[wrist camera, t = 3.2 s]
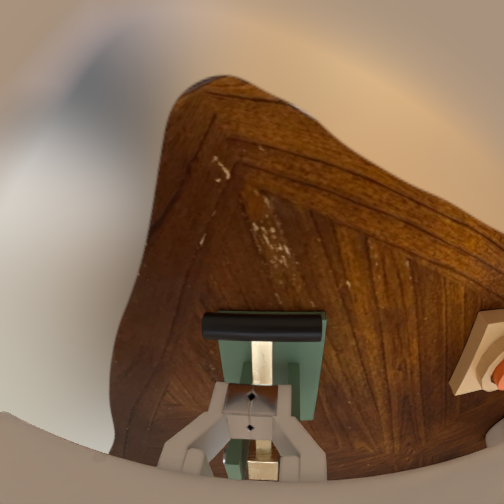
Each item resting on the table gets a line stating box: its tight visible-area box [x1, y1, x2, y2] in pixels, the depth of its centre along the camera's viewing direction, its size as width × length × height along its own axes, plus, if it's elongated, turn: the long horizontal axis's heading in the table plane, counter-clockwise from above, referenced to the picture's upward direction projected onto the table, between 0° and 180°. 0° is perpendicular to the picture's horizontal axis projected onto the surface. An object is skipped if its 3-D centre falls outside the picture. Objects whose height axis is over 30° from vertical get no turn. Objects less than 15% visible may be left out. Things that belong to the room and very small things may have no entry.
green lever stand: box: [217, 311, 327, 480], centre depth 23 cm, size 14×9×12 cm, turn 3°
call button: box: [449, 309, 504, 395], centre depth 23 cm, size 10×9×4 cm
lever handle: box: [202, 312, 322, 480], centre depth 17 cm, size 14×6×2 cm, turn 3°
